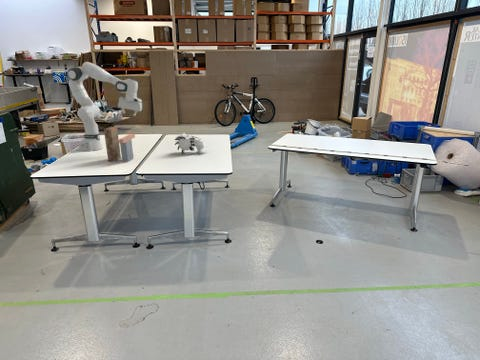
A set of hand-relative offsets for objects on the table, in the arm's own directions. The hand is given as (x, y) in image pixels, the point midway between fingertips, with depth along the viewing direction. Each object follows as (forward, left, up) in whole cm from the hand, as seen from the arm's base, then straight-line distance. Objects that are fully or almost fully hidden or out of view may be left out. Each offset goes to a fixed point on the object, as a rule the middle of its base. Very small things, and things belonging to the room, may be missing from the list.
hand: (129, 114), depth 287 cm
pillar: (-4, -27, -33) cm, 43 cm away
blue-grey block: (+8, -27, -33) cm, 43 cm away
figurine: (+53, +4, -33) cm, 63 cm away
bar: (+8, -24, -17) cm, 31 cm away
